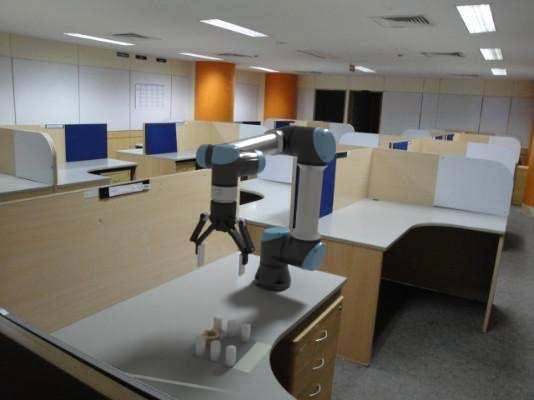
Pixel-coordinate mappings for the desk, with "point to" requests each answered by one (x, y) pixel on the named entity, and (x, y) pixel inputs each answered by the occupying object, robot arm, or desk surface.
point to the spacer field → (231, 347)
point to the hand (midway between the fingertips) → (220, 269)
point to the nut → (211, 336)
